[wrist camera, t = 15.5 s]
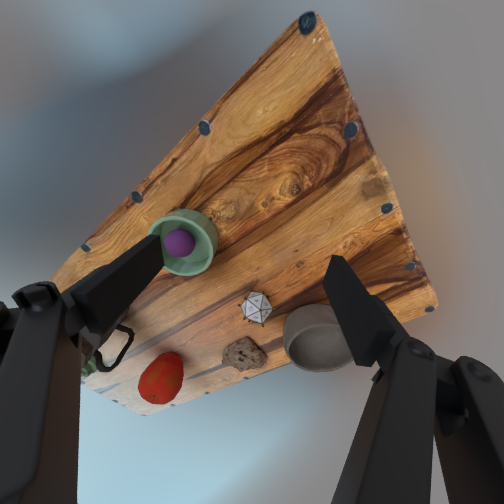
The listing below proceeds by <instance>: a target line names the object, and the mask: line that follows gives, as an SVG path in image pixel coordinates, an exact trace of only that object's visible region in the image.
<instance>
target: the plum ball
mask: <svg viewBox="0 0 504 504" xmlns="http://www.w3.org/2000/svg"><path fill="white" fill-rule="evenodd" d="M165 248H166V250H167V252H168V253H169V254H171V255H172V256H174V257H178V258H183V257H186V256H188V255H190V254H191V253H192V252H193V250H194V248H195V239H194V237H193V235H192V234H191V233H190V232H188V231H187V230H184V229H176V230H173V231H171V232H170V233H169V234H168V235H167V236H166V238H165Z"/></svg>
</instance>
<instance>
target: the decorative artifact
mask: <svg viewBox="0 0 504 504" xmlns="http://www.w3.org/2000/svg"><path fill="white" fill-rule="evenodd" d="M96 370H97V367H96V361H95V357H93V356H92V357H91V359H90V360H89V361H88V363H87V364H86V366H85V367H84V368H81V376H84V377H87V376H89V375H90V374H91V373H94V372H95V371H96Z"/></svg>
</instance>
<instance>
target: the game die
mask: <svg viewBox="0 0 504 504" xmlns="http://www.w3.org/2000/svg"><path fill="white" fill-rule="evenodd" d="M250 291H251V292H250V294H249V295H248V296H247V297H246V296H245V297H244V299H245V300H244V301H243V303H242V304H241V305H240V304H239V305H238V306H241V308H242V311H243V314H244V316H245V317H244V318H243V320H245V319H248V320H249V321H248V322H250V320H251V321H254V322H257V323H260V324H262V327H263V328H264V324H263V323H264V321H265V320H266V318H267V317H268V316H269V314H270V313H271V311H272V310H273V309H274V310H276V308H273V307H272V305H271V304H270V302H269V300H268V295H267V296H265V294H264V293H265V291H263V293H258V292H252V289H250Z"/></svg>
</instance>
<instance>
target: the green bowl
mask: <svg viewBox="0 0 504 504" xmlns="http://www.w3.org/2000/svg"><path fill="white" fill-rule="evenodd" d="M176 229H184V230H187V231H188V232H190V233H191V234H192V235H193V237H194V239H195V248H194V250H193V252H192V253H191V254H190V255H188V256H186V257H183V258H178V257H174V256H172V255H171V254H169V253H168V252H167V250H166V248H165V238H166V236H167V235H168V234H169V233H170V232H171V231H173V230H176ZM149 234H153V235H160V240H161V246H162V252H163V258H164V265H165V266H164V267H163V268H164V269H166V270H167V271H169V272H171V273H174V274H177V275H182V276H191V275H197V274H199V273H201V272H203V271H205V270H206V269H207V267H208V266H209V265H210V264H211V262H212V260H213V258H214V256H215V253H216V251H217V248H218V245H219V237H218V233H217V230H216V228H215V226H214V225H213V223H212V222H211V221H210V220H209V219H208V218H207V217H206V216H205V215H203V214H201V213H200V212H197V211H195V210H191V209H178V210H174V211H172V212H170V213H168V214H167V215H165V216H164V217H162V218H160V219H159V220H158V221H156V222H155V223H153V224H152V226H151V228H150V229H149V231H148V235H149Z"/></svg>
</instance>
